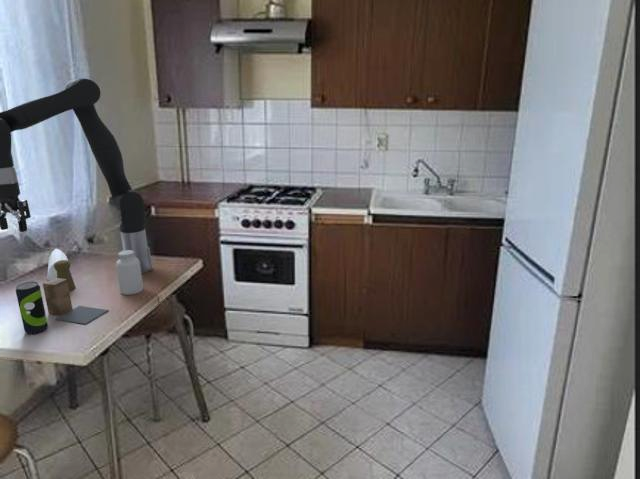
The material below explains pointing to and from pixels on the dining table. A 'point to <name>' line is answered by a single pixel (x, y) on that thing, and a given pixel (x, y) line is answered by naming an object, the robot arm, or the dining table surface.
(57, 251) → the crystal
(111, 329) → the dining table surface
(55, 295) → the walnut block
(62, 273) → the cork
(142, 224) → the robot arm
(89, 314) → the rubber mat
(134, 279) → the pill bottle
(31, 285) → the beverage can
